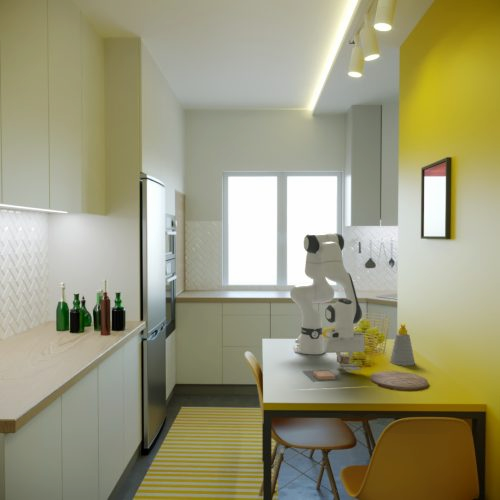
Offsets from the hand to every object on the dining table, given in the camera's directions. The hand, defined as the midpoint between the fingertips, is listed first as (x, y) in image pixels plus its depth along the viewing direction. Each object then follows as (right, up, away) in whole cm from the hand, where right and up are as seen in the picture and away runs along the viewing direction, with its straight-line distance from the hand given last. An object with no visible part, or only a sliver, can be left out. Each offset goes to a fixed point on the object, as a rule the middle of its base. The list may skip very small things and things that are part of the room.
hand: (344, 361), depth 234 cm
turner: (+1, -2, -3) cm, 3 cm away
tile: (-13, -4, -9) cm, 16 cm away
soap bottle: (+34, -5, +18) cm, 39 cm away
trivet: (+21, -6, -17) cm, 28 cm away
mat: (-12, -5, -10) cm, 17 cm away
